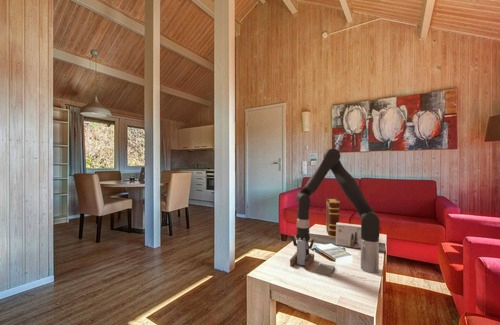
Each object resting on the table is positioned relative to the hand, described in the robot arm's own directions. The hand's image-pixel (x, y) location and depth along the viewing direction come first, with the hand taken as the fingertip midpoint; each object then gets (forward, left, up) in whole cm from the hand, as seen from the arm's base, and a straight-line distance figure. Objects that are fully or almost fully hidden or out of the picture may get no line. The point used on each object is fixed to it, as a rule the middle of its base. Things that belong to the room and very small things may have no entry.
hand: (302, 253), depth 140 cm
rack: (0, +1, -6) cm, 6 cm away
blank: (0, 0, -5) cm, 5 cm away
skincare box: (-23, -47, -6) cm, 53 cm away
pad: (-14, +3, -6) cm, 15 cm away
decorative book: (-6, -71, -6) cm, 71 cm away
